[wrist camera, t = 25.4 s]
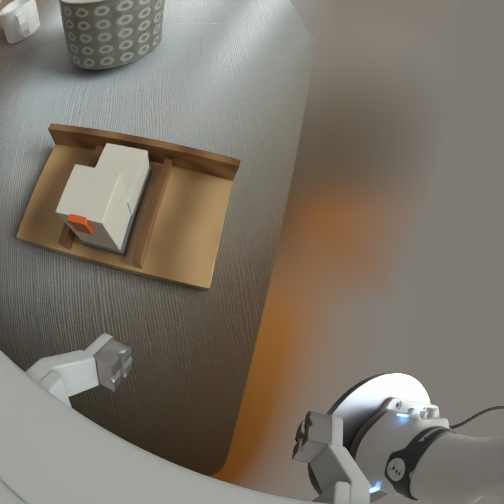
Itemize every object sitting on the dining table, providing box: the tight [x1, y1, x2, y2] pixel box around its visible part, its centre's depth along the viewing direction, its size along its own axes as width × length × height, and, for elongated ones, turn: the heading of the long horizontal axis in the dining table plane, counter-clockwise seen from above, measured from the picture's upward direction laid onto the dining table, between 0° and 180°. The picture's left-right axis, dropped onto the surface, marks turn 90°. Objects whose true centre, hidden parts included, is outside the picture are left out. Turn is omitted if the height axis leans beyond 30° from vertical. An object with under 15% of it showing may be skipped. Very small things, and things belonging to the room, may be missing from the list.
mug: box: [0, 0, 40, 44], centre depth 35 cm, size 14×10×11 cm
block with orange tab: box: [56, 143, 152, 256], centre depth 30 cm, size 6×12×11 cm, turn 170°
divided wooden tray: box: [17, 124, 240, 291], centre depth 34 cm, size 28×16×6 cm, turn 80°
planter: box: [59, 0, 165, 70], centre depth 35 cm, size 19×19×18 cm
